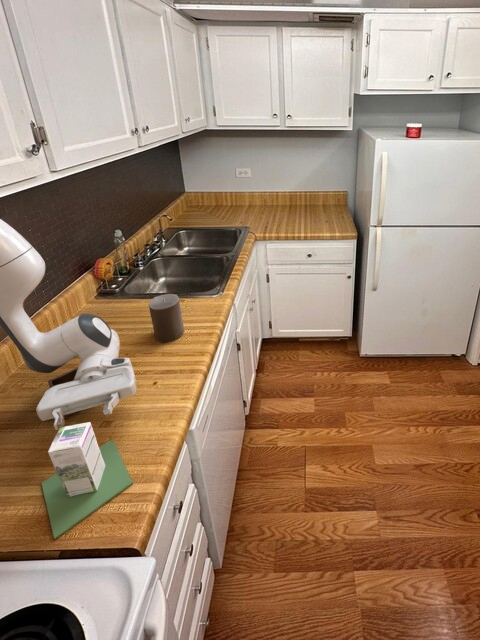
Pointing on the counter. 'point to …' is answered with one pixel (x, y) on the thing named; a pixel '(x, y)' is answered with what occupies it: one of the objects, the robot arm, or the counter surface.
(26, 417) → the counter surface
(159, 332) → the pillar candle
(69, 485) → the syrup box
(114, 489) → the green mat
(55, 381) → the frame
